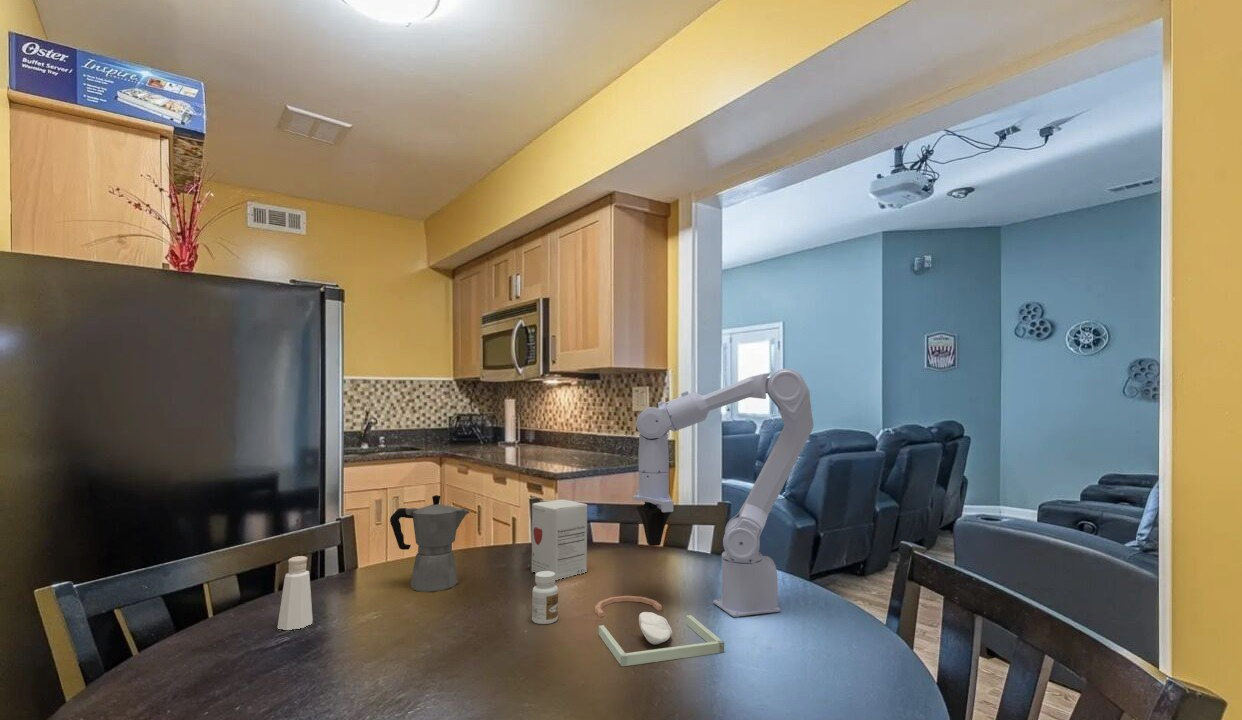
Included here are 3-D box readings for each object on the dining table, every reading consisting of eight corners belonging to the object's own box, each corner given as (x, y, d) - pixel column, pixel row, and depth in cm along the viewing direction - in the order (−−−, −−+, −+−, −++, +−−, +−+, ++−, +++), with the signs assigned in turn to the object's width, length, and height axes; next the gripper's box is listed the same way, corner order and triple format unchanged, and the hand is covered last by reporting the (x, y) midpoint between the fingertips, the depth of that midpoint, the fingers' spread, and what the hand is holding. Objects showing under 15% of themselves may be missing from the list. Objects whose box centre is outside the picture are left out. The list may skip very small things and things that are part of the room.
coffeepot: (468, 576, 126) (470, 490, 127) (467, 590, 117) (468, 497, 118) (391, 581, 123) (394, 493, 124) (384, 595, 114) (386, 500, 115)
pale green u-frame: (690, 623, 99) (690, 614, 99) (724, 652, 88) (724, 642, 88) (598, 634, 94) (598, 625, 95) (621, 666, 83) (621, 656, 83)
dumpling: (638, 633, 95) (638, 607, 96) (670, 633, 95) (670, 607, 96) (639, 651, 88) (639, 624, 89) (674, 651, 88) (674, 624, 89)
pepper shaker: (318, 625, 98) (321, 557, 99) (282, 634, 94) (285, 563, 95) (306, 617, 102) (309, 551, 103) (271, 625, 98) (274, 557, 99)
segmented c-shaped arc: (647, 597, 113) (647, 593, 113) (661, 610, 106) (661, 605, 106) (588, 603, 109) (588, 599, 109) (599, 617, 102) (599, 612, 102)
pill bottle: (553, 625, 98) (553, 578, 99) (528, 623, 99) (528, 576, 100) (561, 616, 103) (561, 570, 103) (537, 614, 103) (537, 569, 104)
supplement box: (529, 572, 129) (530, 502, 130) (562, 564, 135) (563, 498, 136) (554, 581, 123) (555, 508, 124) (588, 573, 129) (588, 503, 130)
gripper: (621, 468, 118) (621, 537, 117) (647, 476, 104) (647, 555, 103) (655, 467, 120) (655, 535, 119) (684, 475, 106) (684, 552, 105)
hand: (653, 544), depth 111 cm, fingers closed
